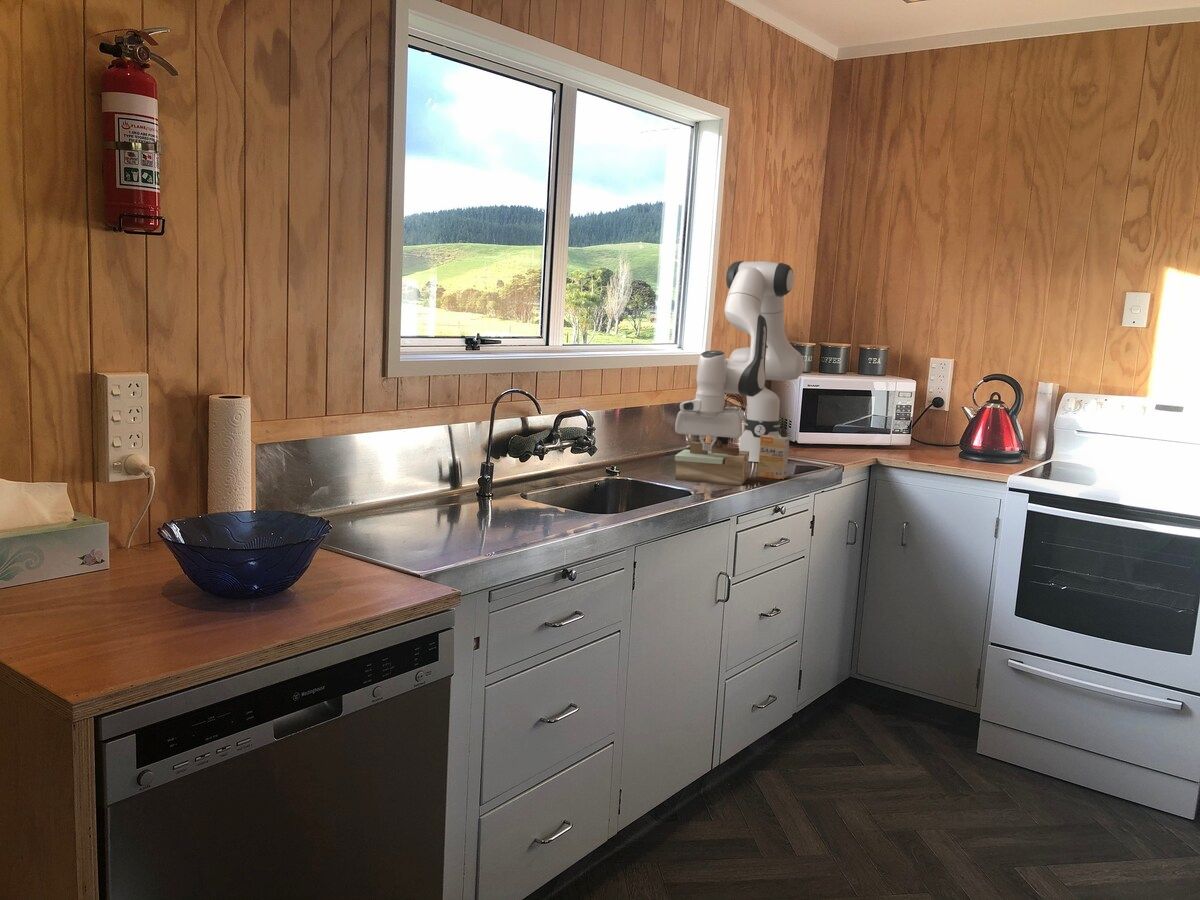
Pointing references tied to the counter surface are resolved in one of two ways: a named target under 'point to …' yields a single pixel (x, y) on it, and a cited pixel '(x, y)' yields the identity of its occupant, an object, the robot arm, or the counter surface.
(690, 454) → the lid
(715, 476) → the toolbox
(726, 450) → the brown stepped wooden block
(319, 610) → the counter surface
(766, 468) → the supplement box
